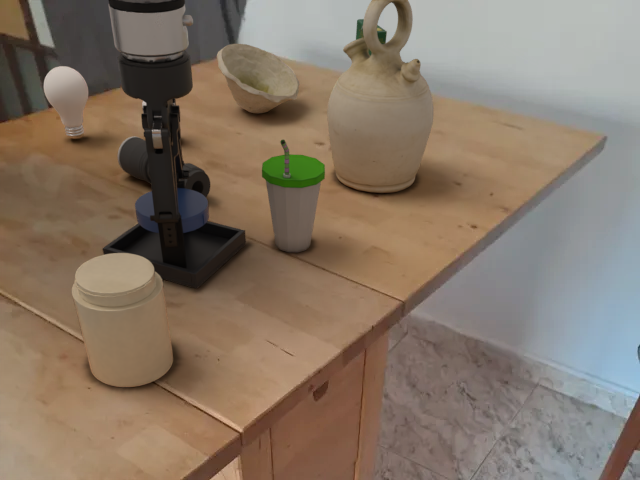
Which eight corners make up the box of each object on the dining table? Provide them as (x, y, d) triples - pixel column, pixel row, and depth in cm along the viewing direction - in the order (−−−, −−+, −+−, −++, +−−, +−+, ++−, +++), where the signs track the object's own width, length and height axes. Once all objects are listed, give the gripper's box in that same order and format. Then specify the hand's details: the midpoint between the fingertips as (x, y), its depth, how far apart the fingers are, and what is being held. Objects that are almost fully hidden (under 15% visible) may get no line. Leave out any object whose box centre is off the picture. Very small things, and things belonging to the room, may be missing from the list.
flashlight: (215, 200, 99) (213, 163, 95) (186, 212, 96) (182, 174, 92) (149, 167, 106) (145, 132, 102) (120, 177, 103) (114, 141, 99)
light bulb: (90, 129, 117) (76, 58, 109) (102, 142, 113) (89, 70, 105) (50, 135, 114) (34, 63, 106) (61, 149, 110) (45, 75, 102)
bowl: (267, 131, 119) (266, 69, 112) (204, 114, 124) (199, 53, 117) (314, 108, 128) (315, 48, 121) (253, 92, 133) (251, 34, 126)
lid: (222, 210, 86) (221, 197, 84) (184, 240, 80) (183, 226, 79) (163, 195, 88) (161, 182, 87) (122, 223, 82) (120, 209, 81)
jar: (72, 372, 69) (48, 282, 62) (122, 329, 75) (105, 242, 68) (142, 396, 67) (125, 305, 60) (188, 350, 73) (178, 262, 66)
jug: (311, 163, 110) (315, -21, 92) (399, 153, 114) (419, -25, 97) (346, 204, 99) (358, 6, 82) (441, 191, 103) (472, 1, 86)
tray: (105, 262, 85) (102, 248, 84) (160, 222, 93) (158, 208, 92) (196, 288, 81) (195, 274, 80) (246, 244, 90) (245, 230, 88)
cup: (295, 224, 94) (296, 110, 84) (334, 246, 90) (341, 129, 80) (250, 242, 90) (246, 124, 80) (290, 265, 86) (290, 145, 76)
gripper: (185, 84, 64) (205, 292, 80) (193, 25, 79) (208, 209, 95) (103, 84, 63) (139, 294, 79) (127, 24, 79) (153, 210, 94)
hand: (177, 247), depth 87 cm, fingers closed on lid, 9 cm apart
